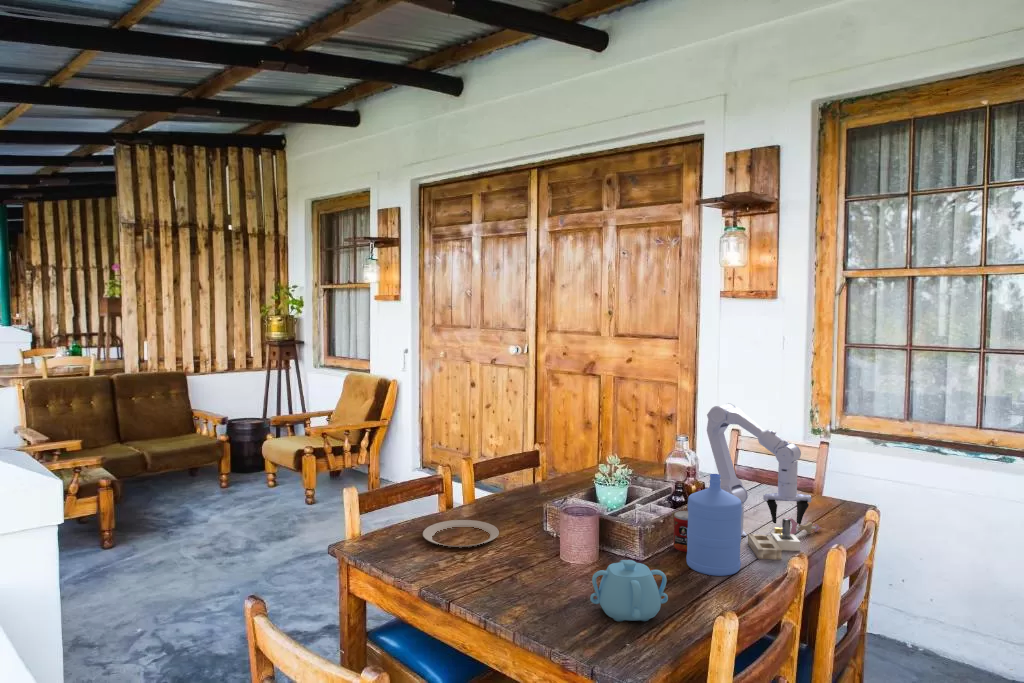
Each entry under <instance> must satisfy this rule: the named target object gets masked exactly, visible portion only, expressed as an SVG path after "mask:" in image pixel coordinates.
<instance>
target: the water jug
mask: <svg viewBox="0 0 1024 683" xmlns="http://www.w3.org/2000/svg"><path fill="white" fill-rule="evenodd" d="M720 477H721V475H719V473H710V474H709V478H710V479H709V487H707V488H704V489H702V490H698V491H696V492H693V493H691V494H690V495H689V496H688V497H687V511H688V528H687V552H686V565H687V566H688V567H689V568H690V569H692V570H693V571H695V572H698V573H700V574H702V575H703V574H704V575H708V576H714V577H715V576H716V577H725V576H731V575H734V574H737V573H738V572H739V571H740V569H741V564H742V562H741V543H742V536H741V515H742V506H741V504H742V503H741V500H740V499H739V498H738V497H736V496H734V495H732V494H730V493H728V492H726V491H724V490H722V489H721V488H720V483H721V480H720Z"/></svg>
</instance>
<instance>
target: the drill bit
mask: <svg viewBox="0 0 1024 683" xmlns="http://www.w3.org/2000/svg"><path fill="white" fill-rule="evenodd" d="M787 518H788V517H784V518H781V519H782V520H781V523H782V524H781V525H782V526H781V528H782V539H784V540H790V532H791V521H790V519H787Z"/></svg>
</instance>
